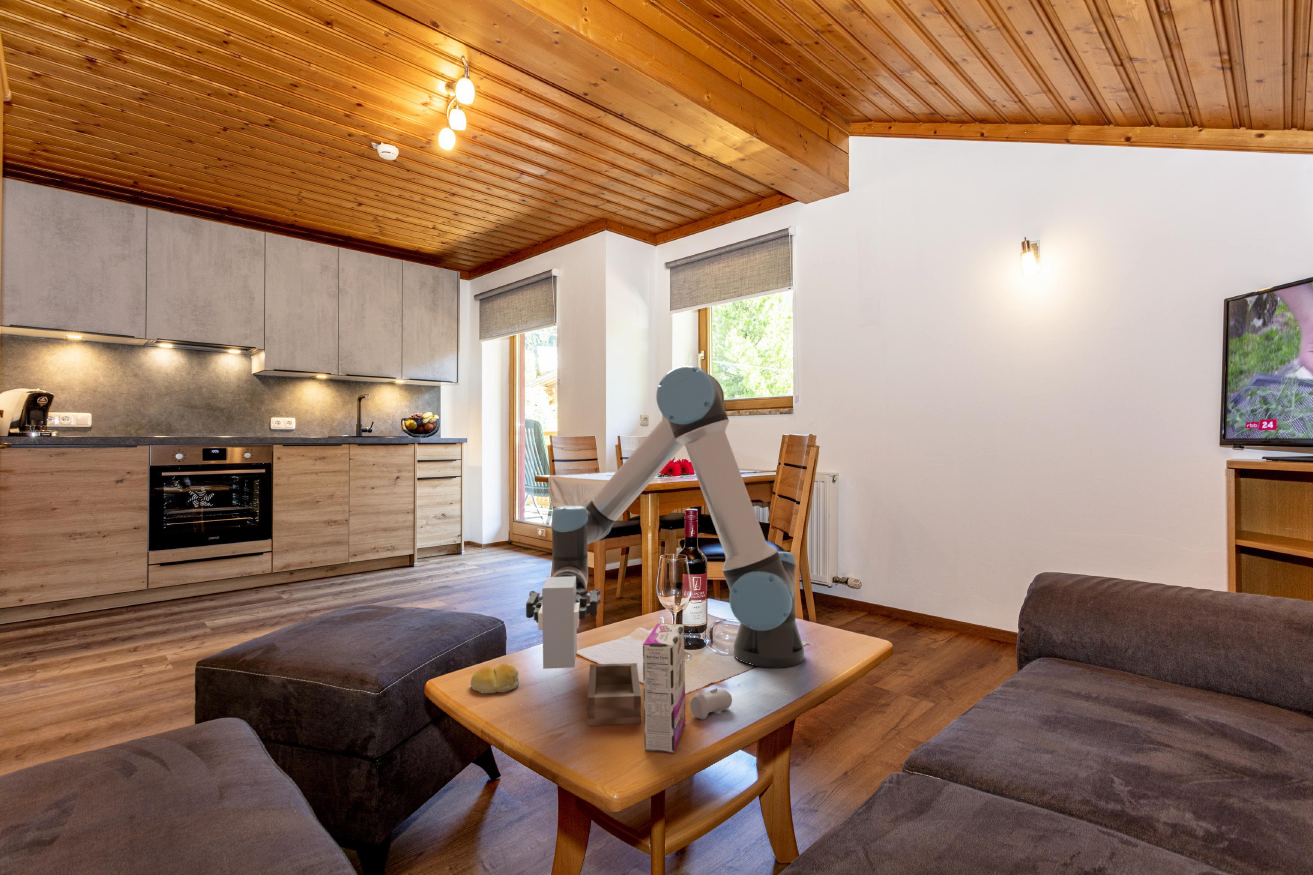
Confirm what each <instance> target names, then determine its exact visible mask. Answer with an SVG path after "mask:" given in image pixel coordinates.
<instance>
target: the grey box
mask: <svg viewBox="0 0 1313 875" xmlns="http://www.w3.org/2000/svg"><path fill="white" fill-rule="evenodd" d="M541 588H542V589H541V590H542V594H541V595H542V612H543V630H542V669H543V670H546V669H548V670H550V669H569V668H571V669H572V668H575V664H576V659H577V653H578V652H577V651H578V634H577V631H578V630H577V629H574V608H575V603H576V576H571V577H553V576H548V577H546V579H545V581H544V584H543V586H542V587H541Z"/></svg>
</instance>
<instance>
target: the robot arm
mask: <svg viewBox="0 0 1313 875" xmlns="http://www.w3.org/2000/svg"><path fill="white" fill-rule="evenodd" d="M655 396H656V399H655V400H656V404H657V407H658V409H659V411H660V412H661V415H662V416H661V420H660V421H659V423H658V424H657V425H656V426H655V427H654V428H653V429H652V431H651V432H650V433H649V434H648V435H647V437H645V439H644V440H643V441H642V442H641V443H640V444H639V446H638V447H637V448H636V449H635V450H634V451H633V453H632V454H630V456H629V457H628V458H627V459H626V460H625V461H624V463H623V464H622V465H621V466H620V467H619V468H618V470H617V471H616V472H615V473H614V474H613V475H612V476H611V478H610V479H609V480H608V481H607V482H606V483H605V484H604V485H603V486H602V488H601V489H600V490H599V491H598V492H597V493H596V494H595V496H594V497H593V498H592V500H591V501H590V502H589V503H588V504H587V505H586V506H582V505H560V506H556V507H554V508H553V509H552V514H551V515H552V517H551V526H550V527H551V537H552V538H551V540H552V542H551V543H552V544H551V545H552V564H551V565H552V577H571V576H576V603H575V608H574V629H579V626H580V620H586V619H587V615H588V614H590V616H591V617H596V616H598V605H600V604H601V589H599V588H595V589H594V590H590V591H589V592H588V590H587V589H588V588H587V587H588V584H589V582H590V581H589V576H590V575H589V569H588V568H589V567H588V565H589V564H588V561H589V560H588V559H589V558H588V545H591V543H592V544H593V543H595V542H598V541H601V540H603V539H604V538H605V537H606V536H607V535H609V533H610V532H611V530H612V526H613V525H614V524H615V523H616V522H617V521H618V519H619V518H620V517H621V516H622V514H623V513H624V512H625V511H626V510H627V509H628V508H629V507H630V506H631V505H632V503H634V501H635V500H636V499H637V498H638V497H639V496H640V495H641V493H643V491H644V490H645V489H646V487H648V486H649V484H651V482H652V481H653V480H654V479H655V478H656V477H657V475H659V473H660V472H661V471H663V469H664V468H665V467H666V466H667V464H668V463H669V462H670V461H671V460H672V459H673V458H674V457H675V455H677V453H678V452H679V451H680V450H681V449H682V447H685V449H686V451H687V454H688V458H689V459H690V463H691V465H692V467H693V470H694V474H695V476H696V479H697V482H698V484H699V487H700V490H701V493H702V496H703V498H704V501H705V504H706V507H707V509H708V513H709V515H710V518H711V521H712V523H713V526H714V528H715V531H716V534H717V536H718V539H719V542H720V544H721V548H722V551H723V553H724V556H725V561H724V563H723V564H722V567H721V568H722V573H723V576H724V578H725V581H726V584H727V587H728V590H729V595H728V596H729V600H728V601H729V605H730V609H731V612H732V613H733V616H734V617H735V619H736V620H737V621H738V622H739V623H740V625H739V627H738V631H737V632H736V633H737V634H736V636H735V640H734V643H733V656H734V655H735V656H734V658H735V657H737V658H738V659H739V660H742V661H744V662H747V663H751V664H753V665H752V666H754V665H756V666H755V667H760V668H771V669H772V668H774V669H775V668H789V667H794V666H796V665H799V664H801V663H803V661H804V659H805V647H804V645H803V641H802V638H801V635H800V632H799V629H798V626H797V622H796V621H797V620H796V568H797V564H796V558H795V557H796V556H795V555H794V554H793V553H792V552H789V551H778V549H777V548H775V547H774V546H771V545H770V544H768V543H767V541H766V538H765V536H764V533H763V530H762V528H761V525H760V522H759V520H758V516H757V513H756V512H755V509H754V506H753V503H752V500H751V498H750V495H749V493H748V490H747V488H746V487H747V486H746V484H745V481H744V479H743V476H742V474H741V471H740V468H739V466H738V462H737V460H736V457H735V455H734V453H733V452H734V451H733V449H732V446H731V444H730V442H729V438H728V436H727V434H726V430H727V427H728V425H729V422H730V419H729V417H728V414H727V412H726V409H725V406H724V404H725V393H724V390H723V387H722V385H721V384H720V383H719V381H718V380H717V379H716V378H715V377H714V376H712V375H711V374H709V373H708V372H707V371H705V370H704V369H702V368H700V367H699V366H693V365H682V366H678V367H677V366H676V368H673V369H671V370H670V371H668V372H666V374H665V375H664V376H663V377H662V379H661V380H660V382H659V384H658V386H657V389H656V395H655ZM528 595H529V598H528V599H527V600H526V603H525V615H526V617H525V618H527V619H531V618H533V621H535V622H536V623H537V627H538V628H537V631H543V612H542V594H541V593H540V592H537V591H535V590H531V591H529V594H528ZM587 601H589V603H588V602H587ZM738 659H737V660H738ZM739 660H738V661H739Z"/></svg>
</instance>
